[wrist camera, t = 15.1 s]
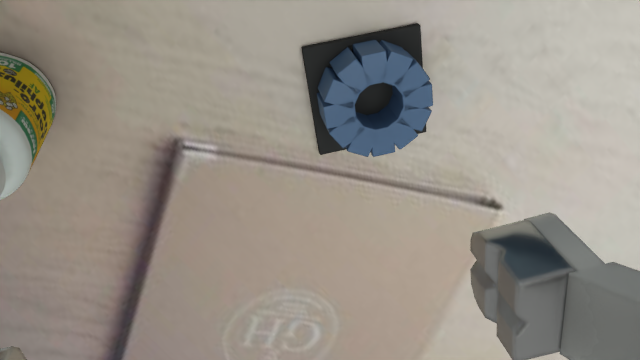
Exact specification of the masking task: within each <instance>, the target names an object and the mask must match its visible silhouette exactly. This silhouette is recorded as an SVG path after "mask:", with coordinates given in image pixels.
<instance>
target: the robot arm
mask: <svg viewBox="0 0 640 360" xmlns="http://www.w3.org/2000/svg"><path fill="white" fill-rule="evenodd" d="M470 251H471V252H472V253H473V255H474V256H475V258H476V259H477V261H476V262H475V264H474V265H473V267H472V268H471V285H472V289H473V293H474V297H475V299H476V302H477V304H478V306H479V308H480V310H481V311H482V313H483V315H484V316H485V318H487V319H489V320H491V321H493V322H495V323H497V337H498V338H499V340H500V341H501V343H502V344H503V346H504V347H505V349H506V350H507V352H508V353H509V355H510V357H511V358H512V360H527V359H531V358H535V357H539V356H544V355H548V354H552V353H556V352H560V354H561V355H563V356H564V357H566V358H568V359H569V360H640V271H638V270H635V269H632V268H629V267H626V266H623V265H620V264H618V263H615V262H611V263H607V264H605V263H604V262H603V261H602V260H601V259H600V258H599V257H598V256H597V255H596V254H595V253H594V252H593V251H592V250H591V249H590V248H589V247H588V246H587V245H586V244H585V243H584V242H583V241H582V240H581V239H580V238H579V237H578V236H577V235H576V234H574V233H573V232H572V231H571V230H570V229H569V228H568V227H567V226H566V225H565V224H564V223H563V222H562V221H561V220H560V219H559V218H558V217H557V216H556V215H555V214H552V213H550V212H549V213H545V214H542V215H538V216H534V217H530V218H527V219H524V220H522V221H518V222H514V223H510V224H506V225H502V226H498V227H494V228H490V229H486V230H482V231H478V232H474V233H473V234H472V237H471V250H470ZM0 360H27V359H26V357H25V356H24V354H23V353H22V351H21V350H20V348H18V347H13V346H11V347H7V348H2V349H0Z"/></svg>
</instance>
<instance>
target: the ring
mask: <svg viewBox="0 0 640 360" xmlns="http://www.w3.org/2000/svg"><path fill="white" fill-rule="evenodd" d="M353 53H354V54H353ZM353 53H352V51H351V50H350V49H349V48H348V47H347V48H346V49H345V50H343V51H342V52H341V53H340V54H339V55H337V56H336V57H335V58H334V59H333V60H331V61H330V65H331V66H332V68H333V69H331V68H328V67H326V68H325V70H324V73H323V75H322V78H321V80H320V83H319V85H318V90H319V92H320V93H317V99H318V105H319V111H320V115H321V117H322V119H323V122H324V124H325V126H326V128H327V130H328V132H329V134H330V135H331V136H332V137H333V138H334V139H335V141H336V142H337V143H338V144H339V145H340V146H341V147H342V148H344V147H346V149H347V151H349V152H352V153H356V154H359V155H363V156H367V157H368V156H369V153H370V152H371V154H372V155H373V157H375V156H379V155H384V154H388V153H393V152H395V145H396V146H397V147H398V148H399V149H402V148H403V147H404V146H406V145H407V144H408V143H409V142H411V141H412V140H413V139H415V138H416V137H417V136H418V134H417V133H416V132H415V130H419V131H422V130H423V128H424V126H425V124H426V122H427V120H428V118H429V116H430V114H431V110H430V108H429V107H430V106H433V98H432V84H431V83H430V82H429V81H428V80H429V79H430V78H429V77H428V75H427V74H426V73H425V71H424V70H423V69H422V67H421V66H420V65H419V63H418V62H417V61H416V60H415V59H414V58H413V57H412V56H411V55H410V54H409V53H408V52H407V51H405V50H404V49H403V48H402V47H400V46H397V45H394V44H392V43H389V42H386V41H383V40H381V41H380V43H378V42H377V41H376V40H371V41H366V42H361V43H356V44H353ZM382 82H384V83H387V84H390V85H392V90H393V95H392V97H391V99H390V101H389V103H388V105H387V106H386V107H385V108H383V109H382V110H381V111H380V112H378V113H375V114H370V115H364V114H361V113H357V112H355V103H356V101H357V98H358V96H359V94H360V93H361V92H362V91H363V90H364V89H366V88H367V87H368V86H369V85H373V84H378V83H382ZM414 129H415V130H414ZM394 144H395V145H394Z"/></svg>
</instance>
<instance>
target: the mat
mask: <svg viewBox="0 0 640 360" xmlns="http://www.w3.org/2000/svg"><path fill="white" fill-rule="evenodd" d="M371 40H376V41H377V42H378V43H380V41H381V40H383V41H386V42H389V43H392V44H394V45H397V46H400V47H402V48H403V49H404V50H405V51H407V52H408V53H409V54H410V55H411V56H412V57H413V58H414V59H415V60H416V61H417V62H418V63H419V65H420V66H421V67H422V69H423V66H422V49H421V31H420V25H419V24H418V23H417V24H412V25H407V26H403V27H398V28H393V29H388V30H383V31H378V32H373V33H368V34H363V35H358V36H353V37H348V38H343V39H338V40H333V41H328V42H323V43H318V44H313V45H309V46H304V47H302V53H303V59H304V65H305V71H306V77H307V83H308V89H309V95H310V101H311V107H312V113H313V119H314V125H315V131H316V137H317V143H318V149H319V153H320V155H322V154H326V153H331V152H336V151H340V150H345V149H346V147H344V148H342V147H341V146H340V145H339V144H338V143H337V142H336V141H335V139H334V138H333V137H332V136H331V135H330V134H329V132H328V130H327V128H326V126H325V124H324V122H323V119H322V117H321V115H320V111H319V105H318V99H317V93H320V92H319V90H318V85H319V83H320V80H321V78H322V75H323V73H324V70H325V68H326V67H328V68H331V69H333V68H332V66H331V65H330V61H331V60H333V59H334V58H335V57H336V56H337V55H339V54H340V53H341V52H342V51H343V50H345V49H346V48H347V47H348V48H349V49H350V50H351V51H352V53H353V44H356V43H361V42H366V41H371ZM353 54H354V53H353ZM392 95H393V90H392V85H390V84H387V83H384V82H382V83H378V84H373V85H369V86H368V87H367V88H366V89H364V90H363V91H362V92H361V93H360V94H359V96H358V98H357V101H356V103H355V112H357V113H361V114H364V115H370V114H375V113H378V112H380V111H381V110H382V109H383V108H385V107H386V106H387V105H388V103H389V101H390V99H391V97H392ZM414 130H415V129H414ZM415 132H416V133H417V134H418V133H423V132H426V124H425V126H424V128H423V130H422V131H419V130H415Z"/></svg>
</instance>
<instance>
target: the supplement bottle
mask: <svg viewBox="0 0 640 360" xmlns="http://www.w3.org/2000/svg"><path fill="white" fill-rule="evenodd" d="M55 111H56V97H55V93H54V90H53V88H52V86H51V84H50V83H49V81H48V79H47V78H46V77H45V76H44V74H43V73H42V72H41V71H40V70H38V69H37V68H36V67H35V66H34V65H32V64H31V63H29V62H27V61H25V60H23V59H21V58H18V57H15V56H12V55H9V54H5V53H0V200H1V199H3V198H5V197H7V196H9V195H10V194H12V193H13V192H14V191H16V190H17V189H18V188H19V187H20V186H21V185H22V183H23V182H24V180H25V179H26V177H27V175H28V173H29V171H30V169H31V167H32V165H33V163H34V161H35V159H36V157H37V154H38V152H39V150H40V148H41V146H42V144H43V142H44V139H45V138H46V135H47V133H48V131H49V129H50V127H51V125H52V122H53V119H54V116H55Z"/></svg>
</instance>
